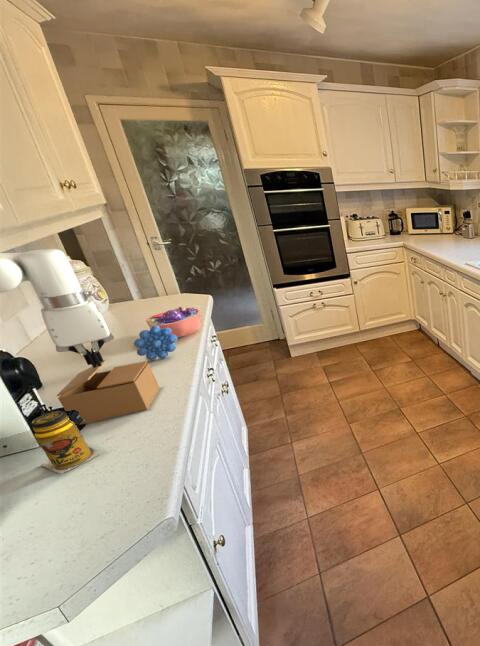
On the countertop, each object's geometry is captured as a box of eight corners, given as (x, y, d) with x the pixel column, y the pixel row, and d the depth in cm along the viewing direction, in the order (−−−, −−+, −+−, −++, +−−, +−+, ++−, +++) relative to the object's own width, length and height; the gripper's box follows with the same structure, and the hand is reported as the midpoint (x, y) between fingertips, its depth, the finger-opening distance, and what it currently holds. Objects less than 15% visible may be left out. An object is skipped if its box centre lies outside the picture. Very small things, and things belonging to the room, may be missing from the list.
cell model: (208, 322, 169) (199, 297, 164) (204, 338, 153) (194, 311, 148) (158, 331, 161) (147, 305, 156) (149, 349, 145) (136, 320, 140)
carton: (74, 426, 102) (56, 395, 98) (93, 401, 112) (78, 373, 109) (147, 409, 108) (133, 380, 104) (159, 387, 119) (147, 360, 115)
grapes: (184, 349, 144) (172, 319, 139) (183, 356, 139) (170, 324, 134) (143, 358, 138) (129, 326, 133) (140, 365, 133) (125, 333, 128)
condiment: (61, 474, 85) (33, 429, 81) (41, 465, 88) (12, 421, 83) (103, 453, 92) (79, 410, 87) (82, 445, 94) (58, 403, 90)
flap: (57, 396, 98) (56, 395, 98) (79, 374, 109) (78, 373, 109) (89, 380, 100) (87, 378, 100) (107, 359, 111) (106, 358, 110)
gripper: (104, 290, 105) (132, 352, 112) (19, 304, 95) (56, 371, 102) (106, 296, 100) (135, 360, 107) (17, 311, 90) (56, 380, 98)
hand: (97, 365), depth 105 cm, fingers closed
